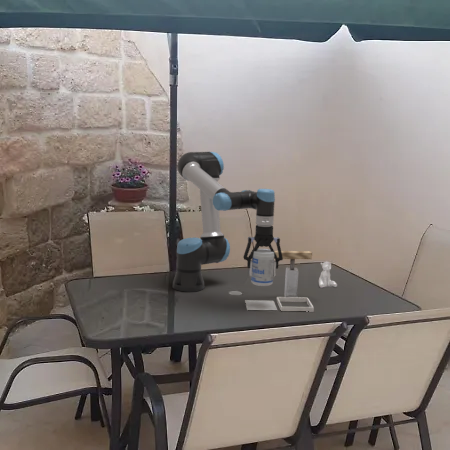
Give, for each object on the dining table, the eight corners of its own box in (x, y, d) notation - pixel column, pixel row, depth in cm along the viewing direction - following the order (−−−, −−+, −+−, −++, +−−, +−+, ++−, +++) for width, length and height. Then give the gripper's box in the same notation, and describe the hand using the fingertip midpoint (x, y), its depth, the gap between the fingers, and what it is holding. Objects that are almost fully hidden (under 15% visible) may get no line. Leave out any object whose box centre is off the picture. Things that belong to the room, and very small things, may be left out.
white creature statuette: (320, 288, 294) (321, 264, 292) (312, 283, 302) (314, 260, 300) (337, 287, 297) (339, 263, 295) (329, 282, 305) (331, 259, 303)
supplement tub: (248, 285, 260) (249, 251, 257) (254, 279, 268) (255, 247, 266) (269, 287, 256) (271, 254, 254) (275, 282, 265) (277, 249, 262)
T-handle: (309, 267, 276) (310, 251, 275) (311, 269, 273) (312, 252, 272) (261, 267, 274) (262, 250, 273) (262, 269, 271) (262, 252, 270)
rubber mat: (247, 310, 258) (247, 309, 258) (244, 301, 270) (244, 300, 270) (277, 310, 258) (277, 310, 258) (273, 301, 271) (273, 300, 271)
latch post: (285, 299, 274) (287, 270, 271) (284, 296, 279) (285, 267, 276) (296, 300, 274) (298, 270, 272) (294, 296, 279) (296, 267, 276)
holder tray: (280, 311, 258) (281, 307, 257) (276, 301, 272) (276, 296, 271) (313, 312, 259) (313, 307, 258) (307, 301, 273) (307, 297, 272)
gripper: (239, 226, 253) (237, 277, 257) (291, 227, 255) (289, 278, 259) (238, 223, 261) (236, 272, 265) (288, 224, 262) (286, 273, 266)
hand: (262, 275), depth 262 cm, fingers closed on supplement tub, 10 cm apart
